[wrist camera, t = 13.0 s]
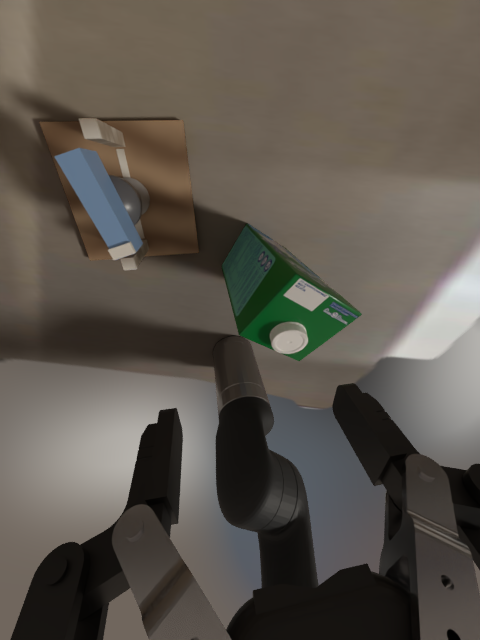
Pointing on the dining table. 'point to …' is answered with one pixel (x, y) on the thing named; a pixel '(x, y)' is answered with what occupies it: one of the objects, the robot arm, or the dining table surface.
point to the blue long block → (105, 200)
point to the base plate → (134, 181)
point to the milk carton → (281, 297)
